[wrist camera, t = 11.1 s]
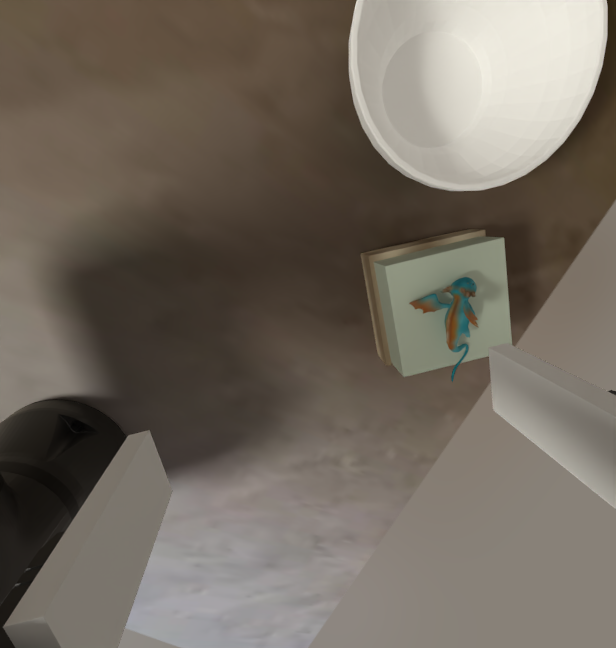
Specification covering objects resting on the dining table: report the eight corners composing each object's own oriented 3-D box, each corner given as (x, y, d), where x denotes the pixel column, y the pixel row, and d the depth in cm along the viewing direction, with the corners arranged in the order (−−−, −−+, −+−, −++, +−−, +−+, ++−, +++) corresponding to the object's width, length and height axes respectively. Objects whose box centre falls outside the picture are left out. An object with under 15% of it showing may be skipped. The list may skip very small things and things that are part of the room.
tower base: (376, 353, 43) (386, 366, 39) (359, 253, 40) (368, 256, 36) (474, 330, 43) (493, 341, 40) (465, 229, 40) (485, 229, 36)
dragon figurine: (522, 330, 34) (504, 273, 29) (485, 395, 32) (459, 347, 27) (458, 314, 39) (433, 264, 34) (423, 370, 37) (391, 326, 32)
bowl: (454, -82, 32) (525, -204, 23) (559, 109, 37) (651, 71, 28) (289, 77, 34) (293, 25, 25) (409, 237, 39) (449, 242, 30)
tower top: (391, 362, 39) (403, 377, 35) (373, 261, 36) (385, 266, 32) (489, 337, 39) (512, 350, 36) (480, 236, 36) (504, 237, 33)
